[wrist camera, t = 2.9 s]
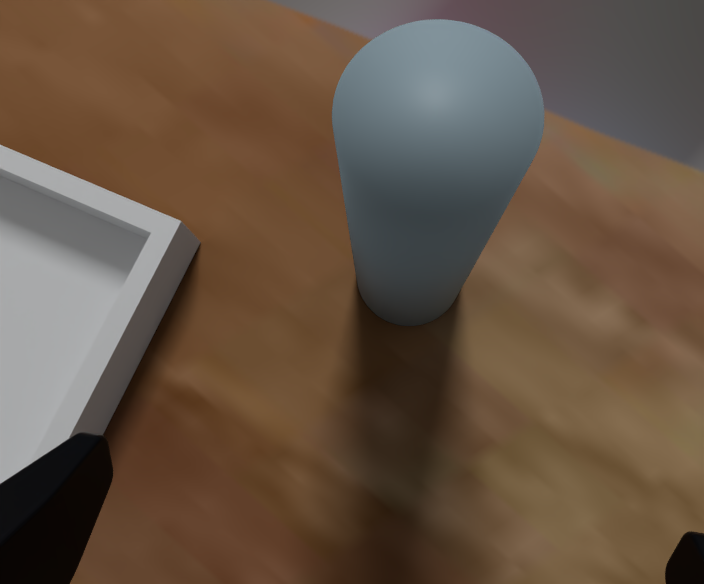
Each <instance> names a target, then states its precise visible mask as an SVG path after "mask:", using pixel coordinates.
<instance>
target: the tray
mask: <svg viewBox="0 0 704 584" xmlns="http://www.w3.org/2000/svg"><path fill="white" fill-rule="evenodd" d="M200 243H201V242H200V241H199V240H198V239H197V238H196V237H195V235H194V234H193V233H192V232H191V231H190V230H189V229H188V228H187V227H186V226H185V225H184V224H183V223H182V222H181V221H179V220H177V219H175V218H172V217H170V216H168V215H165V214H163V213H160V212H158V211H156V210H153V209H151V208H149V207H146V206H144V205H141V204H139V203H137V202H134V201H132V200H130V199H127V198H125V197H123V196H120V195H118V194H115V193H113V192H111V191H108V190H106V189H104V188H101V187H99V186H96V185H94V184H92V183H89V182H87V181H85V180H82V179H80V178H77V177H75V176H73V175H70V174H68V173H66V172H63V171H61V170H59V169H56V168H54V167H51V166H49V165H47V164H44V163H42V162H40V161H37V160H35V159H32V158H30V157H28V156H25V155H23V154H21V153H18V152H16V151H14V150H11V149H9V148H6V147H4V146H2V145H0V483H2V482H4V481H5V480H7V479H8V478H10V477H11V476H13V475H14V474H16V473H17V472H19V471H20V470H22V469H23V468H25V467H26V466H28V465H29V464H31V463H32V462H34V461H35V460H37V459H38V458H40V457H41V456H43V455H45V454H46V453H48V452H49V451H51V450H52V449H54V448H55V447H57V446H58V445H60V444H61V443H63V442H64V441H66V440H67V439H69V438H70V437H72V436H73V435H75V434H77V433H80V432H88V433H94V434H100V435H103V434H104V432H105V430H106V428H107V426H108V424H109V422H110V420H111V418H112V416H113V414H114V412H115V410H116V408H117V406H118V404H119V402H120V400H121V398H122V396H123V394H124V392H125V390H126V388H127V386H128V384H129V382H130V381H131V379H132V377H133V375H134V373H135V371H136V369H137V367H138V365H139V363H140V361H141V359H142V357H143V355H144V353H145V351H146V349H147V347H148V345H149V343H150V341H151V339H152V337H153V335H154V333H155V331H156V329H157V327H158V325H159V323H160V321H161V319H162V317H163V316H164V314H165V312H166V310H167V308H168V306H169V304H170V302H171V300H172V298H173V296H174V294H175V292H176V290H177V288H178V286H179V284H180V282H181V280H182V278H183V276H184V274H185V272H186V270H187V268H188V266H189V264H190V262H191V260H192V258H193V256H194V254H195V252H196V250H197V249H198V247H199V245H200Z"/></svg>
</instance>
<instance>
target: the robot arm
mask: <svg viewBox="0 0 704 584" xmlns="http://www.w3.org/2000/svg"><path fill="white" fill-rule="evenodd" d="M112 478H113V466H112V461H111V456H110V450H109V445H108V441H107V439H106V437H105V436H104V435H100V434H94V433H88V432H80V433H77V434H75V435H73V436H72V437H70V438H69V439H67V440H66V441H64V442H63V443H61V444H60V445H58V446H57V447H55V448H54V449H52V450H51V451H49V452H48V453H46V454H45V455H43V456H41V457H40V458H38V459H37V460H35V461H34V462H32V463H31V464H29V465H28V466H26V467H25V468H23V469H22V470H20V471H19V472H17V473H16V474H14V475H13V476H11V477H10V478H8V479H7V480H5V481H4V482H2V483H0V584H70V582H71V580H72V578H73V576H74V574H75V572H76V569H77V567H78V565H79V562H80V560H81V558H82V555H83V553H84V550H85V548H86V545H87V543H88V540H89V538H90V535H91V533H92V530H93V528H94V525H95V523H96V520H97V518H98V515H99V513H100V510H101V508H102V505H103V503H104V500H105V498H106V495H107V493H108V490H109V488H110V485H111V482H112ZM665 580H666V584H704V533H698V532H687V533H685V534H684V535H683V537H682V538H681V540H680V542H679V543H678V545H677V547H676V549H675V550H674V552H673V554H672V555H671V557H670V559H669V561H668V563H667V566H666V571H665Z"/></svg>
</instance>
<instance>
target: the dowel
mask: <svg viewBox="0 0 704 584" xmlns="http://www.w3.org/2000/svg"><path fill="white" fill-rule="evenodd" d="M332 123H333V131H334V137H335V144H336V150H337V157H338V163H339V169H340V176H341V182H342V189H343V195H344V202H345V208H346V214H347V221H348V227H349V234H350V240H351V247H352V253H353V259H354V266H355V272H356V279H357V284H358V289H359V292H360V294H361V296H362V299H363V300H364V302H365V303H366V305H367V306H368V307H369V308H370V310H371V311H372V312H374V313H375V314H376V315H377V316H379V317H380V318H382V319H384V320H385V321H387V322H390V323H393V324H396V325H401V326H417V325H422V324H426V323H429V322H431V321H433V320H435V319H437V318H438V317H440V316H441V315H442V314H444V313H445V312H446V311H447V310H448V309H449V308H450V307H451V305H452V304H453V302H454V301H455V299H456V297H457V295H458V294H459V292H460V290H461V288H462V286H463V285H464V283H465V281H466V279H467V277H468V276H469V274H470V272H471V270H472V268H473V267H474V265H475V263H476V261H477V259H478V258H479V256H480V254H481V252H482V250H483V249H484V247H485V245H486V243H487V242H488V240H489V238H490V236H491V234H492V233H493V231H494V229H495V227H496V225H497V224H498V222H499V220H500V218H501V216H502V215H503V213H504V211H505V209H506V207H507V206H508V204H509V202H510V200H511V198H512V197H513V195H514V193H515V191H516V189H517V188H518V186H519V184H520V182H521V180H522V179H523V177H524V175H525V173H526V172H527V170H528V168H529V166H530V164H531V163H532V161H533V159H534V157H535V155H536V153H537V151H538V148H539V145H540V142H541V139H542V134H543V128H544V106H543V99H542V95H541V91H540V88H539V85H538V83H537V80H536V78H535V76H534V74H533V72H532V71H531V69H530V68H529V66H528V64H527V63H526V62H525V60H524V59H523V58H522V57H521V55H520V54H519V53H518V52H517V51H515V49H514V48H512V47H511V46H510V45H509V44H508V43H506V42H505V41H504V40H502V39H501V38H500V37H498V36H496V35H494V34H492V33H491V32H489V31H487V30H484V29H482V28H480V27H478V26H475V25H471V24H468V23H464V22H459V21H453V20H439V19H436V20H422V21H417V22H411V23H407V24H404V25H401V26H398V27H395V28H393V29H391V30H388V31H386V32H384V33H383V34H381V35H380V36H378V37H376V38H374V39H373V40H372V41H370V42H369V43H368V44H367V45H365V46H364V47H363V48H362V49H361V50H360V51H359V52H358V53H357V54H356V55H355V56H354V57H353V59H352V60H351V61H350V63H349V64H348V65H347V67H346V69H345V70H344V72H343V74H342V76H341V78H340V80H339V83H338V85H337V88H336V92H335V96H334V100H333V108H332Z"/></svg>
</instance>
